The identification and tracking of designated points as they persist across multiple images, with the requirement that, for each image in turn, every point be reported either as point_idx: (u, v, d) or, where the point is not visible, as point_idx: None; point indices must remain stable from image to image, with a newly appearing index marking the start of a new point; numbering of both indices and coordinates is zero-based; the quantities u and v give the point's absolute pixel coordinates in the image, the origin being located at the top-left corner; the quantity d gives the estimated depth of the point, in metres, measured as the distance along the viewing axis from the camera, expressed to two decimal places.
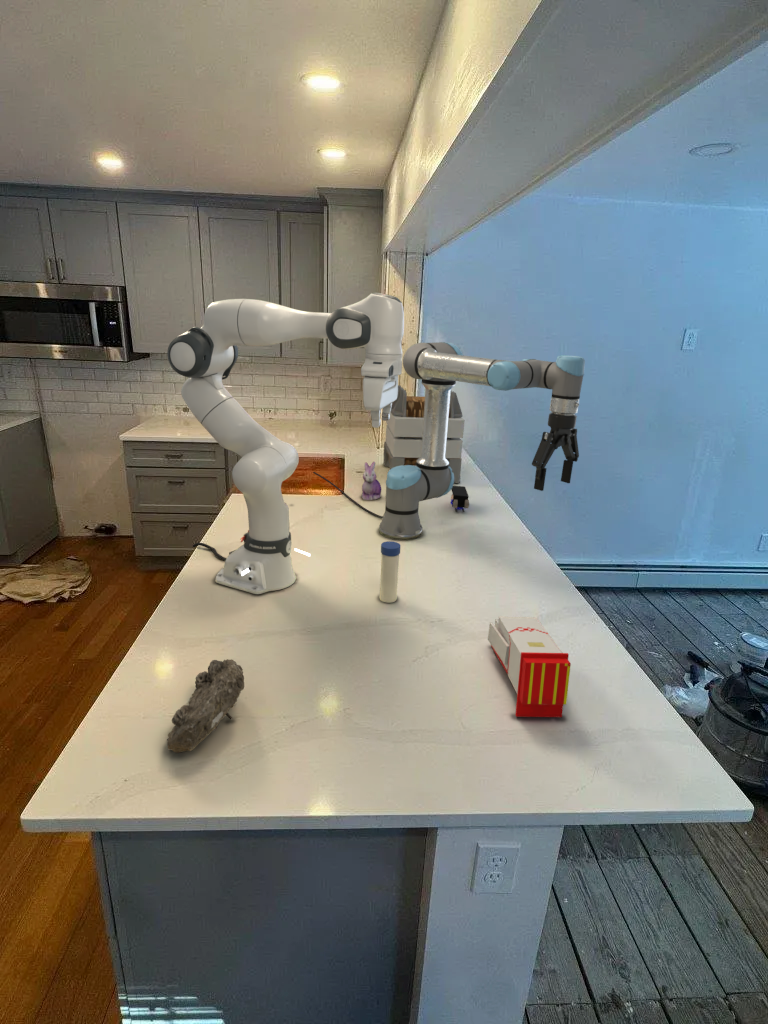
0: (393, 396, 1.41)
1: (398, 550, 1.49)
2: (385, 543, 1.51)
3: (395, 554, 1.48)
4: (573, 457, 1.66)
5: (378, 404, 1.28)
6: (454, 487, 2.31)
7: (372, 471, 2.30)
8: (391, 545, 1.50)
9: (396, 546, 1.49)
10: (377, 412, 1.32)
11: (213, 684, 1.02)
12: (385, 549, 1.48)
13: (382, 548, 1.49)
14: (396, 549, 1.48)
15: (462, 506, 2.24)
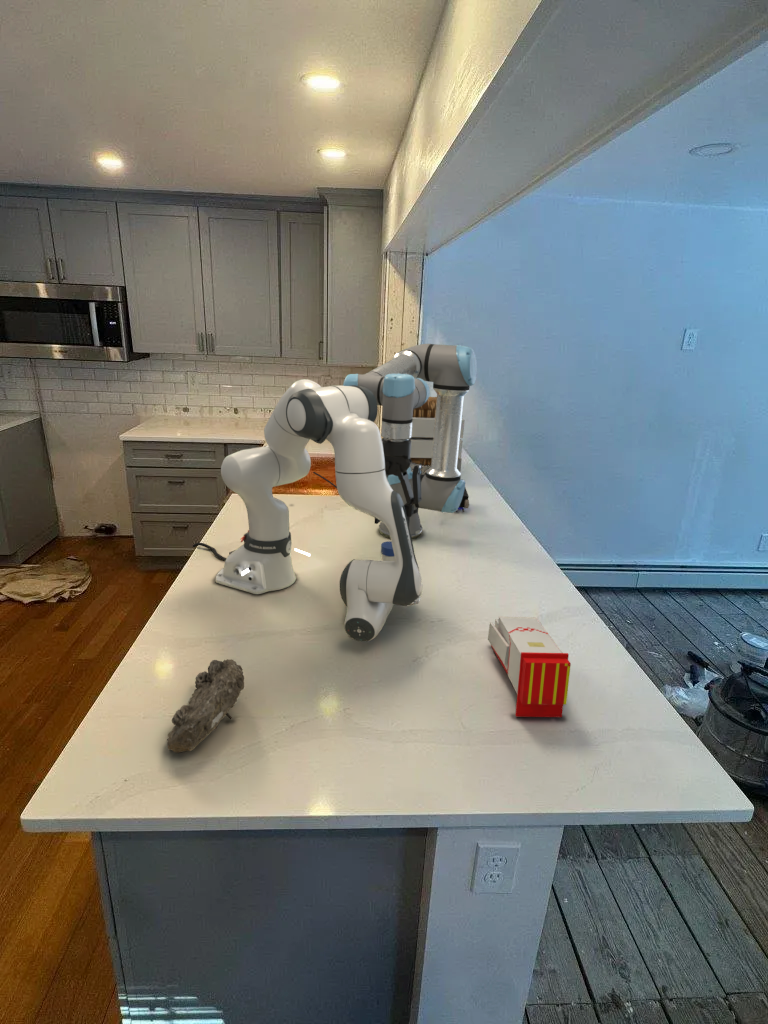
0: None
1: None
2: (385, 543, 1.51)
3: None
4: None
5: None
6: None
7: None
8: (391, 545, 1.50)
9: None
10: None
11: (213, 684, 1.02)
12: (385, 549, 1.48)
13: (382, 548, 1.49)
14: None
15: (462, 506, 2.24)
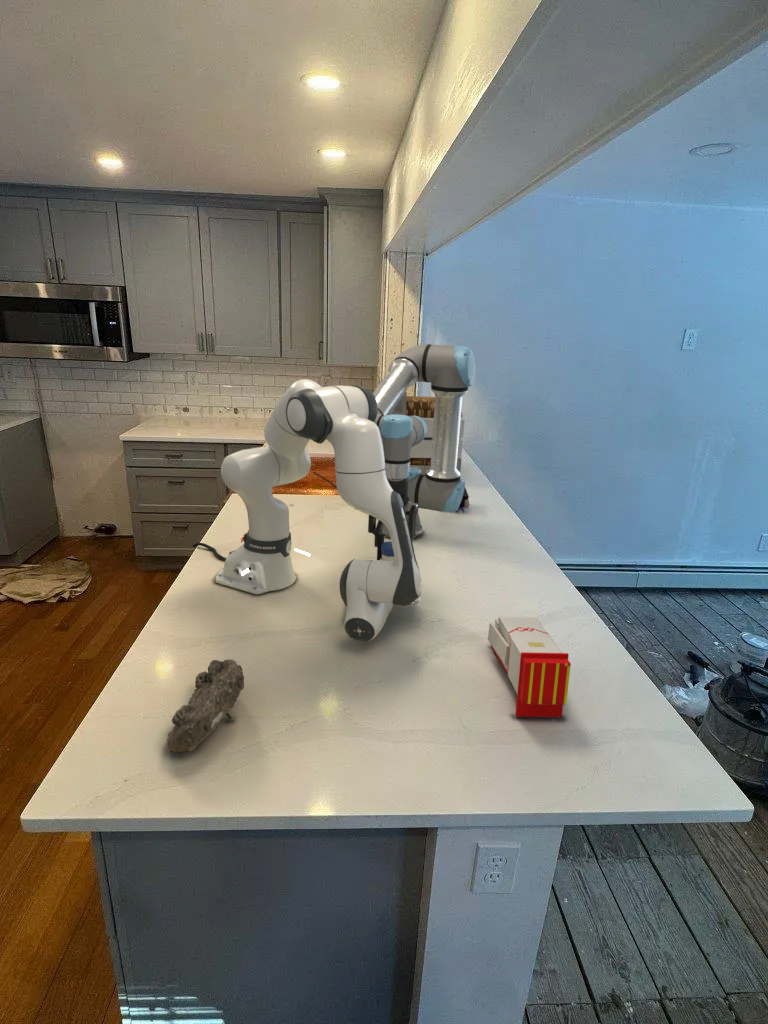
0: None
1: None
2: (385, 543, 1.51)
3: None
4: None
5: None
6: None
7: None
8: (391, 545, 1.50)
9: None
10: None
11: (213, 684, 1.02)
12: (385, 549, 1.48)
13: (382, 548, 1.49)
14: None
15: (462, 506, 2.24)
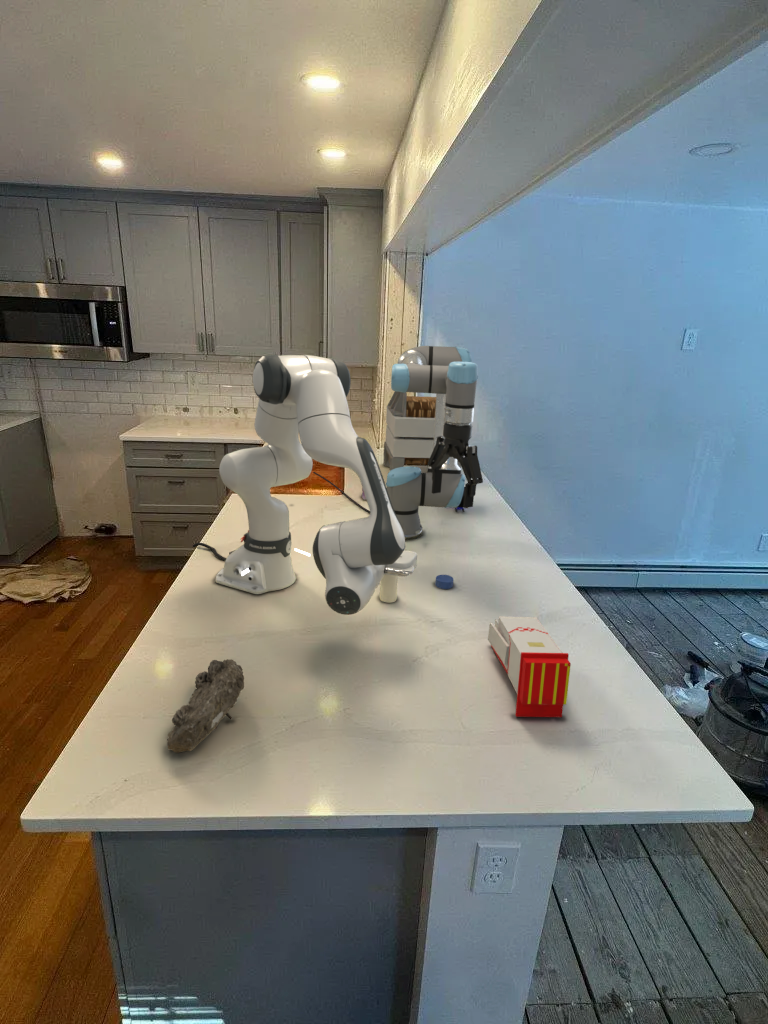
0: None
1: None
2: (447, 580, 1.62)
3: None
4: (468, 479, 1.47)
5: None
6: None
7: None
8: (444, 577, 1.64)
9: (441, 576, 1.65)
10: None
11: (213, 684, 1.02)
12: None
13: None
14: None
15: (462, 506, 2.24)
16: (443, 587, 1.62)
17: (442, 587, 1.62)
